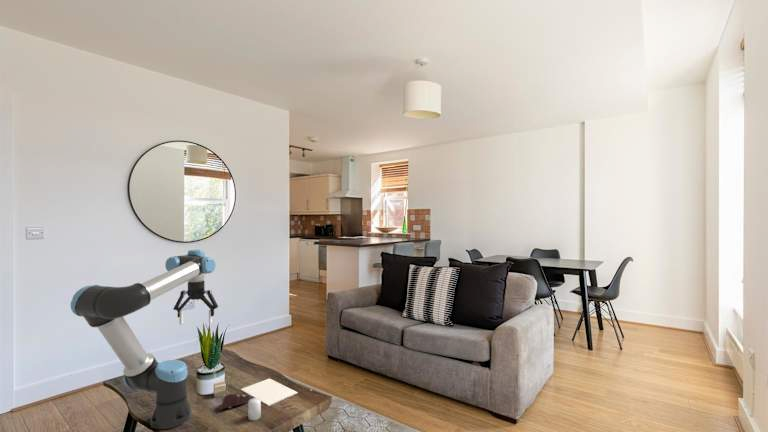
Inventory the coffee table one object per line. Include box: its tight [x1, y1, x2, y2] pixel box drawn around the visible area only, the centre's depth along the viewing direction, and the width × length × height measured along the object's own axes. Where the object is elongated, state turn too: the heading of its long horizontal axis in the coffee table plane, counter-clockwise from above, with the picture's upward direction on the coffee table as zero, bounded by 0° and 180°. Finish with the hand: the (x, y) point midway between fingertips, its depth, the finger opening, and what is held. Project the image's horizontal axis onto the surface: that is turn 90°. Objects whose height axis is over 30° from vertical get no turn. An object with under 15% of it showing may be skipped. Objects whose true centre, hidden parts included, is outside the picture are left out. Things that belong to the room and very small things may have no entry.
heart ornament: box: [220, 392, 252, 410], centre depth 170 cm, size 6×12×11 cm
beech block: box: [213, 380, 227, 399], centre depth 181 cm, size 5×5×5 cm
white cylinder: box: [247, 397, 262, 421], centre depth 160 cm, size 5×5×7 cm
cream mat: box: [240, 378, 298, 407], centre depth 183 cm, size 24×16×1 cm, turn 50°
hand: (196, 323), depth 188 cm, fingers open, 13 cm apart
